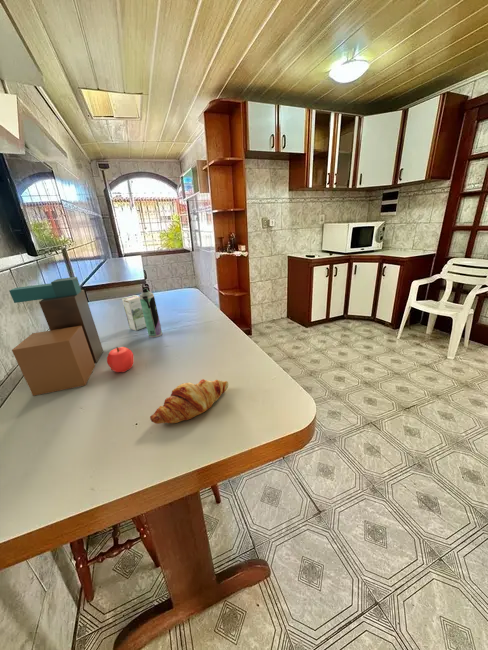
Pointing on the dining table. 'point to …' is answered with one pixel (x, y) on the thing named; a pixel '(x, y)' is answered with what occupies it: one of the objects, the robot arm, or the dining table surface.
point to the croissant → (189, 401)
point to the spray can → (150, 313)
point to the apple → (120, 359)
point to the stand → (73, 318)
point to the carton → (55, 360)
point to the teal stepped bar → (46, 290)
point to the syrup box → (134, 312)
